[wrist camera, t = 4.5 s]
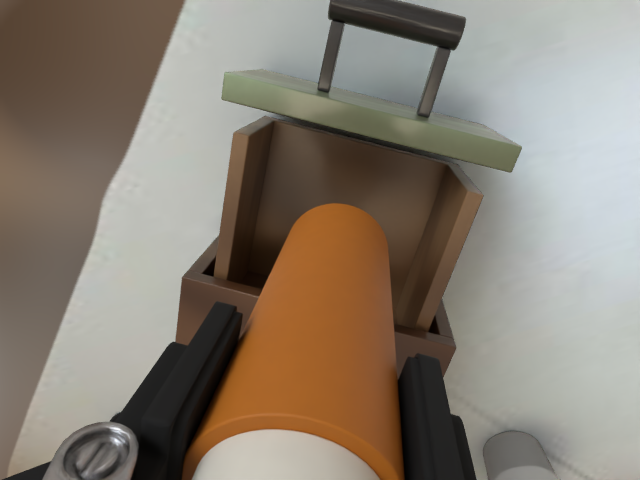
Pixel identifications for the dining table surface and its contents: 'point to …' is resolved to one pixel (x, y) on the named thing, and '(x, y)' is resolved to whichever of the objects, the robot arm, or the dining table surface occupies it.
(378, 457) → the pill bottle
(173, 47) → the dining table surface
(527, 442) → the cup
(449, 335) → the cabinet
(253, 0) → the dining table surface
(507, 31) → the dining table surface
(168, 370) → the robot arm
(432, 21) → the drawer
